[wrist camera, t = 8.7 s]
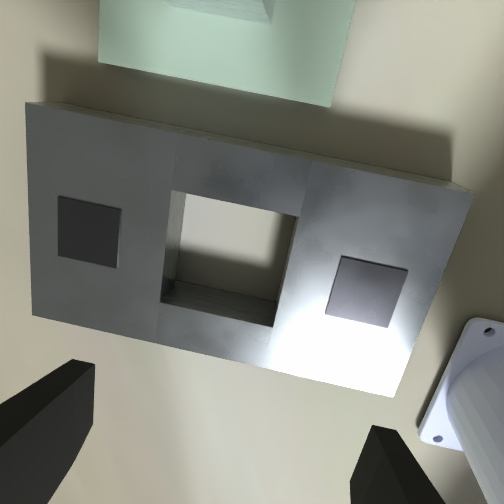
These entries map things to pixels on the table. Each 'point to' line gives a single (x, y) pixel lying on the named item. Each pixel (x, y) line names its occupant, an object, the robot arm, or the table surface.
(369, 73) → the table surface
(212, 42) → the rubber pad
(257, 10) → the steel peg
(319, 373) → the plate with square hole
